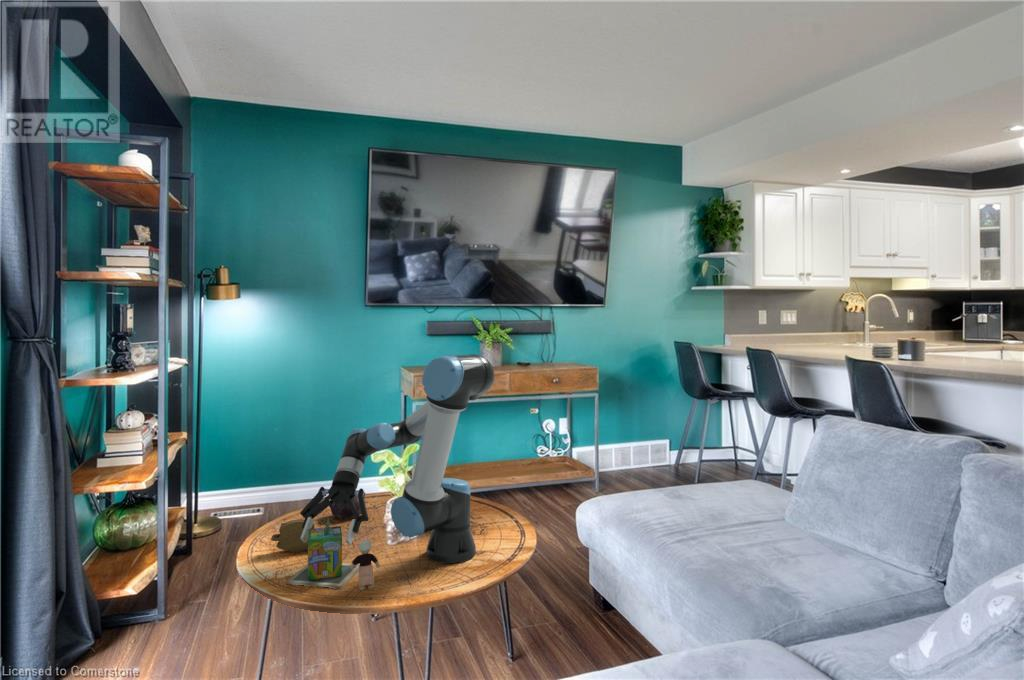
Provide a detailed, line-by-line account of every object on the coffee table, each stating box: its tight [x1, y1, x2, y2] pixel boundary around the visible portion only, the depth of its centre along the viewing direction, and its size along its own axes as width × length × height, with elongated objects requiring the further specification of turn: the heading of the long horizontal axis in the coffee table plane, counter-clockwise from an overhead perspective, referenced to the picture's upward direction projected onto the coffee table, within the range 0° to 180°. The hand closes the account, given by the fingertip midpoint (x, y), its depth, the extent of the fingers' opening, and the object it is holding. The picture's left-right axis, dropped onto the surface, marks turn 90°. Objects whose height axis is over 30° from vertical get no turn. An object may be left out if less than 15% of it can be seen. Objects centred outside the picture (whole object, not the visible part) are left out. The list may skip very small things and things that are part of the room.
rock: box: [328, 495, 362, 520], centre depth 212 cm, size 12×9×10 cm
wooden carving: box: [270, 518, 315, 553], centre depth 181 cm, size 16×5×10 cm, turn 109°
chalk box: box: [307, 518, 343, 581], centre depth 162 cm, size 9×9×15 cm
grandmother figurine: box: [350, 539, 381, 591], centre depth 155 cm, size 8×4×13 cm, turn 118°
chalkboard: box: [285, 562, 360, 590], centre depth 162 cm, size 16×14×1 cm
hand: (325, 541), depth 163 cm, fingers open, 13 cm apart
